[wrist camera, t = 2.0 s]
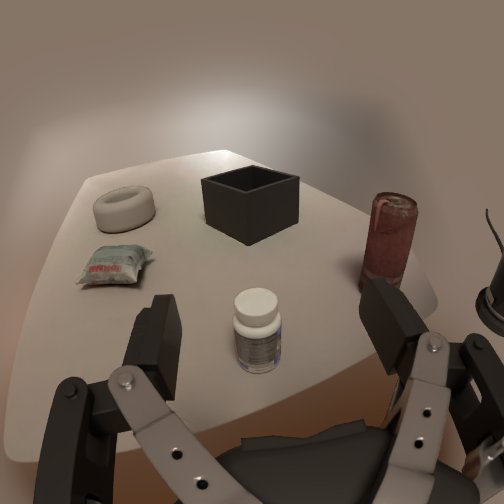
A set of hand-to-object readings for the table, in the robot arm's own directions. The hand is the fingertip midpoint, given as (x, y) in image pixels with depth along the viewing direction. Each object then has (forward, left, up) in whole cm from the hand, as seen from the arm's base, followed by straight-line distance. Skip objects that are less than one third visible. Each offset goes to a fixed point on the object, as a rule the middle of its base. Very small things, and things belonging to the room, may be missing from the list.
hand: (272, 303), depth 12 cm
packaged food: (0, -36, -18) cm, 40 cm away
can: (-27, -5, -18) cm, 33 cm away
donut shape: (-10, -59, -18) cm, 62 cm away
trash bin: (-29, -35, -18) cm, 49 cm away
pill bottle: (-7, -9, -18) cm, 21 cm away
